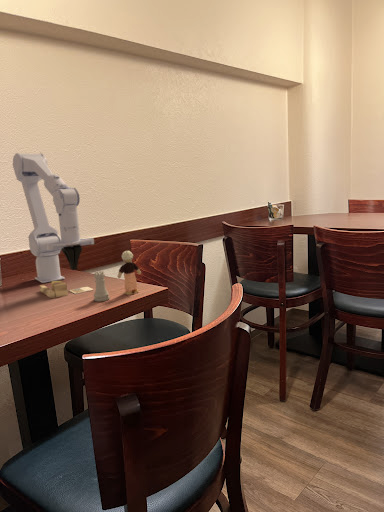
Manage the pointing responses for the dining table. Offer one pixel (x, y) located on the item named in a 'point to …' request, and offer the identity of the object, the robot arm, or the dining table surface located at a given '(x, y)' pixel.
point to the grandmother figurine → (129, 273)
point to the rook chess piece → (100, 287)
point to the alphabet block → (55, 282)
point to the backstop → (47, 291)
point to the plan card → (81, 290)
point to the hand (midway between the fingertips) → (74, 269)
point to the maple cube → (59, 289)
